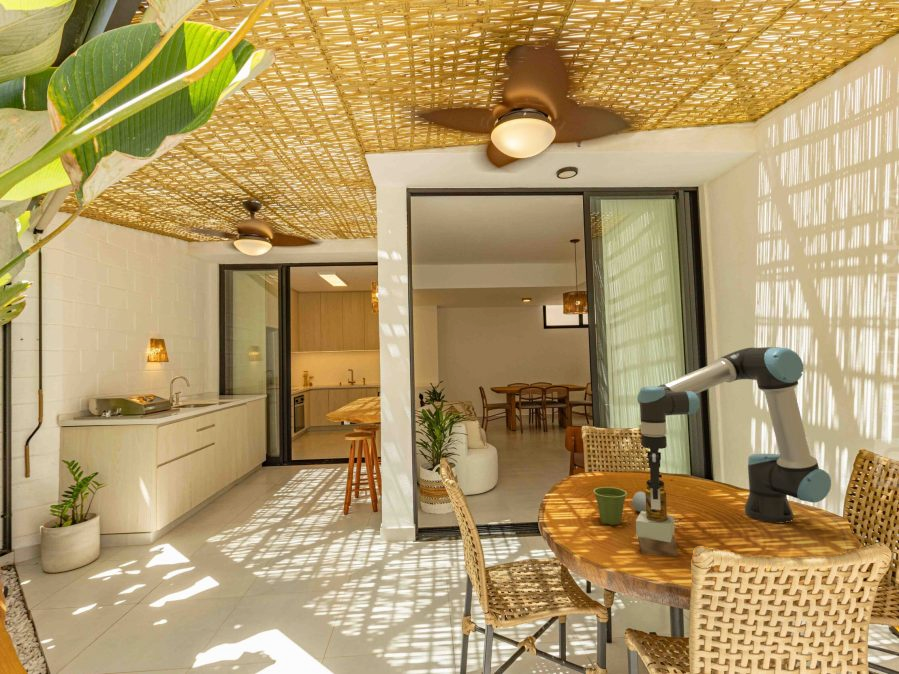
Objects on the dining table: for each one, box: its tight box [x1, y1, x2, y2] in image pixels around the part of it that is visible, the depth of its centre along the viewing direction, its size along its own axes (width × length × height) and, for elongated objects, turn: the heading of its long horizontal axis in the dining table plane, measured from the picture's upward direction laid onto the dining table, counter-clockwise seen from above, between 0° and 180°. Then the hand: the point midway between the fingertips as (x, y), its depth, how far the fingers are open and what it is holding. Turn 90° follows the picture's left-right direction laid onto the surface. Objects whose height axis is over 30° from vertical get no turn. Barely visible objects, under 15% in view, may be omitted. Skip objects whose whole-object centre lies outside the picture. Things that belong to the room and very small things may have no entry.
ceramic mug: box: [631, 490, 646, 513], centre depth 184 cm, size 11×8×8 cm
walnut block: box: [637, 535, 678, 557], centre depth 152 cm, size 10×10×5 cm
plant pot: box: [592, 486, 628, 526], centre depth 175 cm, size 12×12×11 cm
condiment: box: [639, 479, 673, 522], centre depth 153 cm, size 7×8×12 cm
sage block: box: [635, 511, 676, 542], centre depth 152 cm, size 10×10×5 cm
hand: (656, 503), depth 152 cm, fingers open, 11 cm apart
